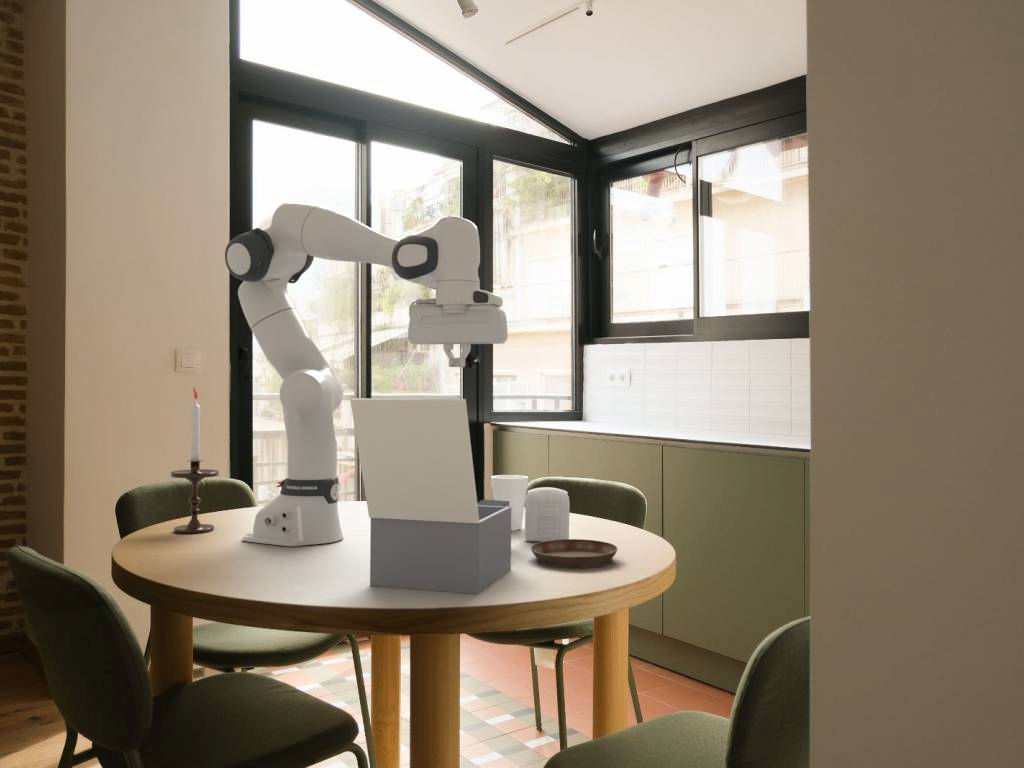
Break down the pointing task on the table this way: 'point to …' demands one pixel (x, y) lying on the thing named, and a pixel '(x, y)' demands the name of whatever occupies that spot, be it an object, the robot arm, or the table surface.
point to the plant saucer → (574, 553)
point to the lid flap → (416, 459)
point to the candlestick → (194, 476)
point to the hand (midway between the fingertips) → (456, 366)
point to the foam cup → (511, 495)
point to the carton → (441, 552)
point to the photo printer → (546, 514)
